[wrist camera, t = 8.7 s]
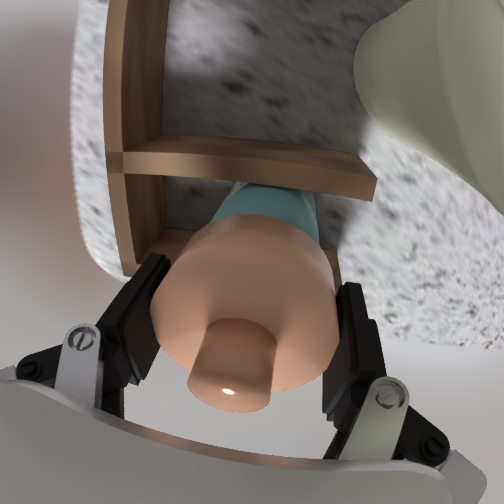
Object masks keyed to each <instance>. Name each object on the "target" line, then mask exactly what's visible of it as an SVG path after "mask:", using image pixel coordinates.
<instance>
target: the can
mask: <svg viewBox="0 0 504 504" xmlns="http://www.w3.org/2000/svg"><path fill="white" fill-rule="evenodd" d="M353 75H354V82H355V87H356V90H357V93H358V96H359V99H360V101H361V103H362V105H363V107H364V109H365V111H366V112H367V114H368V115H369V117H370V118H371V119H372V121H373V122H374V123H375V124H376V125H377V126H378V127H379V128H380V129H381V130H382V131H383V132H384V133H385V134H386V135H388V136H389V137H390V138H392V139H393V140H395V141H397V142H399V143H401V144H403V145H405V146H407V147H410V148H414V149H416V150H418V151H420V152H421V153H423V154H425V155H426V156H428V157H430V158H431V159H433V160H435V161H436V162H438V163H439V164H441V165H442V166H444V167H445V168H447V169H448V170H450V171H451V172H453V173H454V174H455V175H457V176H458V177H460V178H461V179H462V180H464V181H465V182H466V183H468V184H469V185H470V186H472V187H473V188H474V189H476V190H477V191H478V192H479V193H481V194H482V195H483V196H484V197H485V198H486V199H487V200H489V202H490V203H491V204H492V205H493V206H494V208H495V209H496V210H497V211H498V212H499V213H500V214H502V215H503V216H504V0H410V1H409V2H407V3H406V4H405V5H403V6H402V7H401V8H399V9H398V10H396V11H395V12H394V13H392V14H391V15H390V16H388V17H386V18H383V19H381V20H379V21H377V22H376V23H374V24H373V25H372V26H371V27H369V28H368V29H367V30H366V32H365V33H364V34H363V35H362V37H361V39H360V41H359V43H358V45H357V48H356V50H355V55H354V61H353Z"/></svg>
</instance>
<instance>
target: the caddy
mask: <svg viewBox="0 0 504 504" xmlns="http://www.w3.org/2000/svg"><path fill="white" fill-rule="evenodd" d="M168 8H169V0H110V1H109V8H108V16H107V24H106V35H105V47H104V66H103V123H104V143H105V156H106V168H107V178H108V186H109V195H110V202H111V209H112V216H113V222H114V228H115V234H116V240H117V245H118V250H119V256H120V260H121V265H122V270H123V274H124V276H128V277H133V275H134V274H135V273H136V271H137V270H138V269H139V268H140V266H141V265H142V264H143V262H144V261H145V260H146V259H147V257H148V256H149V255H150V254H151V253H158V254H164V255H166V257H167V259H170V262H171V267H172V265H173V264H174V262H175V260H176V259H177V257H178V256H179V254H180V253H181V251H182V250H183V248H184V247H185V245H186V244H187V243H188V241H189V240H190V239H191V237H192V236H193V235H194V234H195V233H196V232H197V231H190V230H182V229H175V228H167V227H166V218H165V203H164V185H163V175H169V176H183V177H196V178H207V179H218V180H228V181H238V182H247V183H255V184H264V185H272V186H279V187H286V188H294V189H301V190H307V191H314V192H320V193H326V194H332V195H338V196H344V197H350V198H355V199H361V200H366V201H371V202H372V200H373V196H374V192H375V187H376V183H377V179H378V178H377V177H376V176H375V175H374V174H373V172H372V171H371V170H370V169H369V168H368V166H367V165H366V164H365V163H364V162H363V161H362V159H361V158H360V157H359V156H358V155H354V154H349V153H344V152H338V151H333V150H327V149H321V148H315V147H308V146H302V145H295V144H287V143H279V142H271V141H261V140H251V139H240V138H227V137H211V136H189V135H162V96H163V70H164V52H165V39H166V27H167V17H168ZM322 250H323V252H324V253H325V255H326V257H327V259H328V261H329V263H330V266H331V269H332V273H333V280H334V288H335V297H336V295H337V292H338V289H339V286H340V285H342V280H341V274H340V268H339V262H338V256H337V251H332V250H325V249H322Z"/></svg>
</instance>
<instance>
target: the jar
mask: <svg viewBox="0 0 504 504" xmlns="http://www.w3.org/2000/svg"><path fill="white" fill-rule="evenodd" d="M246 214H251V215H262V216H268V217H273V218H276V219H279V220H282V221H285V222H287V223H289V224H291V225H293V226H295V227H297V228H298V229H300V230H302V231H303V232H305V233H306V234H307V235H308V236H310V237H311V238H312V239H313V240H314V241H315V242H316V243H317V244H318V245H319V235H318V226H317V217H316V208H315V200H314V194H313V191H307V190H301V189H294V188H286V187H279V186H272V185H264V184H255V183H247V182H238V181H236V183H235V184H234V186H233V187H232V189H231V190H230V192H229V193H228V195H227V196H226V198H225V199H224V201H223V203H222V204H221V206H220V207H219V209H218V210H217V212H216V213H215V215H214V217H213V218H212V220H211V221H210V223H211V222H213V221H215V220H218V219H221V218H225V217H229V216H234V215H246ZM319 246H320V245H319Z"/></svg>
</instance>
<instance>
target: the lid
mask: <svg viewBox="0 0 504 504" xmlns="http://www.w3.org/2000/svg"><path fill="white" fill-rule="evenodd" d="M150 315H151V319H152V323H153V328H154V332H155V336H156V339H157V341H158V342H159V344H160V345H161V347H162V348H163V350H164V351H165V352H166V353H167V354H168V355H169V356H170V357H171V358H172V359H173V360H174V361H175V362H176V363H177V364H179V365H180V366H181V367H182V368H184V369H185V370H187V371H188V372H190V375H189V378H188V382H187V385H188V388H189V390H190V392H191V393H192V394H193V395H194V396H195V397H196V398H198V399H199V400H200V401H202V402H204V403H206V404H207V405H210V406H212V407H215V408H217V409H221V410H225V411H230V412H238V413H243V412H244V413H247V412H254V411H258V410H261V409H263V408H264V407H266V406H267V405H268V403H269V401H270V395H271V392H278V391H284V390H288V389H291V388H295V387H298V386H301V385H304V384H306V383H308V382H310V381H312V380H313V379H315V378H316V377H318V376H319V375H321V374H322V373H323V372H324V371H325V370H326V369H327V368H328V366H329V364H330V362H331V359H332V357H333V355H334V353H335V351H336V348H337V346H338V344H339V326H338V316H337V306H336V297H335V288H334V280H333V273H332V269H331V266H330V263H329V261H328V259H327V257H326V255H325V253H324V252H323V250H322V249H321V248H320V246H319V245H318V244H317V243H316V242H315V241H314V240H313V239H312V238H311V237H310V236H308V235H307V234H306V233H305V232H303V231H302V230H300V229H298V228H297V227H295V226H293V225H291V224H289V223H287V222H285V221H282V220H279V219H276V218H273V217H268V216H262V215H251V214H246V215H234V216H229V217H225V218H221V219H218V220H215V221H213V222H211V223H209V224H207V225H206V226H204V227H203V228H201V229H200V230H198V231H197V232H196V233H195V234H194V235H193V236H192V237H191V239H190V240H189V241H188V243H187V244H186V245H185V247H184V248H183V250H182V251H181V253H180V254H179V256H178V257H177V259H176V260H175V262H174V264H173V265H172V267H171V268H170V270H169V271H168V273H167V274H166V276H165V277H164V279H163V281H162V282H161V284H160V285H159V287H158V288H157V290H156V292H155V294H154V296H153V298H152V300H151V305H150Z"/></svg>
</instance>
